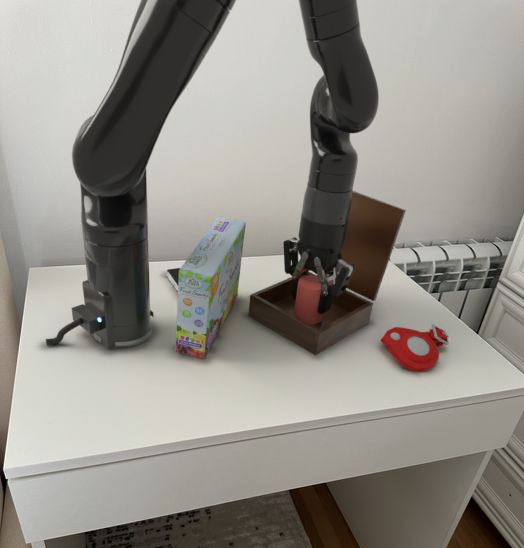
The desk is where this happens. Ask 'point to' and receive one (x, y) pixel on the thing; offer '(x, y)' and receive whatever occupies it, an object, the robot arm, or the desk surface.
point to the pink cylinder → (308, 300)
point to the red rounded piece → (415, 346)
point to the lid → (369, 242)
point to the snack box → (208, 286)
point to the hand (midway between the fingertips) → (310, 304)
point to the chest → (313, 337)
